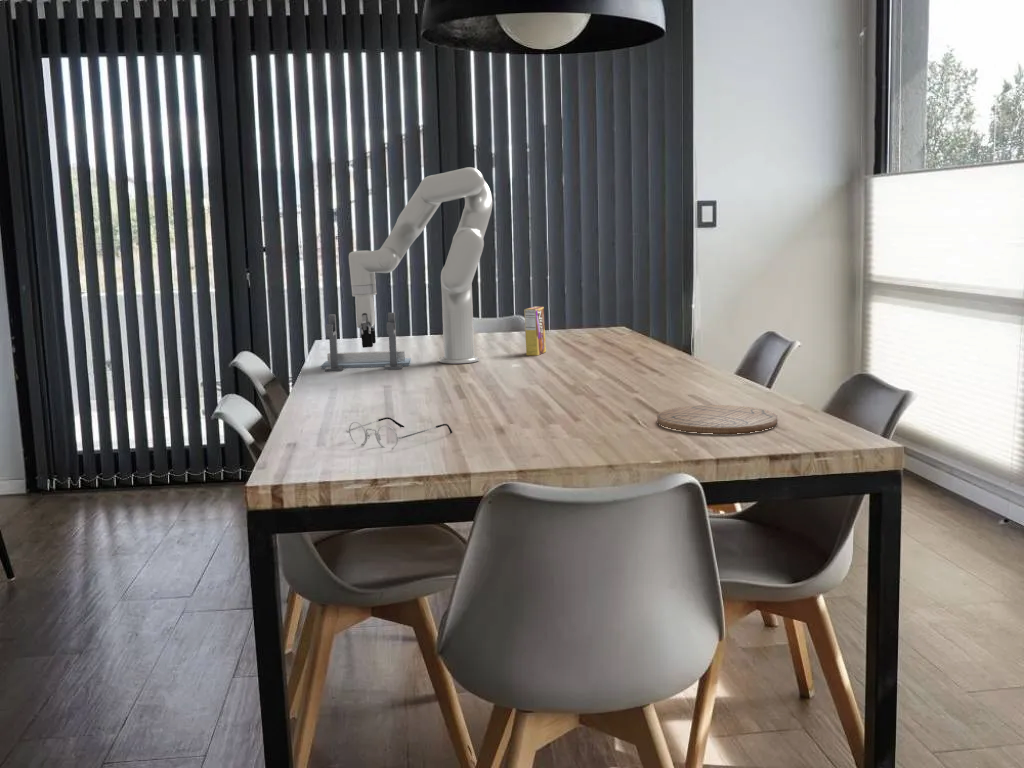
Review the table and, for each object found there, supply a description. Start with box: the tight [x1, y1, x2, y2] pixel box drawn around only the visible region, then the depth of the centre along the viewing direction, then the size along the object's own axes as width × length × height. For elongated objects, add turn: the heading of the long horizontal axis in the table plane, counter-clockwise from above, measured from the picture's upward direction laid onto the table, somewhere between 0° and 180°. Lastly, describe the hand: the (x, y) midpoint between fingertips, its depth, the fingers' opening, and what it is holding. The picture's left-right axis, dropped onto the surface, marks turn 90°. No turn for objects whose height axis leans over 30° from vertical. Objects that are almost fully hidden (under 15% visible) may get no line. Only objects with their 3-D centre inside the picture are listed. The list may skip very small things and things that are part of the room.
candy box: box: [523, 306, 547, 357], centre depth 334 cm, size 9×4×15 cm, turn 160°
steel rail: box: [326, 350, 406, 364], centre depth 320 cm, size 2×24×3 cm, turn 92°
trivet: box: [656, 404, 778, 434], centre depth 217 cm, size 25×25×2 cm
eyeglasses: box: [345, 417, 453, 449], centre depth 210 cm, size 16×19×5 cm
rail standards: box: [324, 312, 403, 373], centre depth 309 cm, size 10×23×17 cm, turn 92°
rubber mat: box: [320, 357, 412, 370], centre depth 321 cm, size 11×27×1 cm, turn 92°
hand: (369, 345), depth 320 cm, fingers open, 9 cm apart
